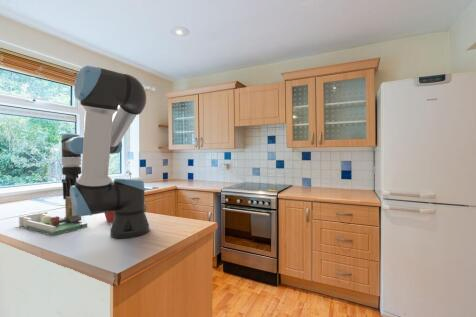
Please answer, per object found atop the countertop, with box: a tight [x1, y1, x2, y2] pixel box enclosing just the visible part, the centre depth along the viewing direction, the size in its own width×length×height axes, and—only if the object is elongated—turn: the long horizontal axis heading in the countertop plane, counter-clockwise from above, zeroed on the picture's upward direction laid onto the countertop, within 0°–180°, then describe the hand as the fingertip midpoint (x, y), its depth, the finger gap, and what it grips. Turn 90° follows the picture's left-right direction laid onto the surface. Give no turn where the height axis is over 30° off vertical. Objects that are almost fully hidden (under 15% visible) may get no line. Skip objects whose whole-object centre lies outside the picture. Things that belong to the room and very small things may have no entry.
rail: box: [59, 217, 88, 229], centre depth 115 cm, size 24×2×2 cm, turn 63°
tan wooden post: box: [51, 196, 82, 226], centre depth 111 cm, size 6×11×12 cm, turn 153°
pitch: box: [18, 211, 82, 236], centre depth 110 cm, size 30×11×4 cm, turn 63°
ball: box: [41, 214, 52, 224], centre depth 110 cm, size 4×4×4 cm
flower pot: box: [104, 211, 115, 223], centre depth 121 cm, size 11×11×10 cm
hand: (72, 214), depth 114 cm, fingers closed on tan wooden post, 4 cm apart
